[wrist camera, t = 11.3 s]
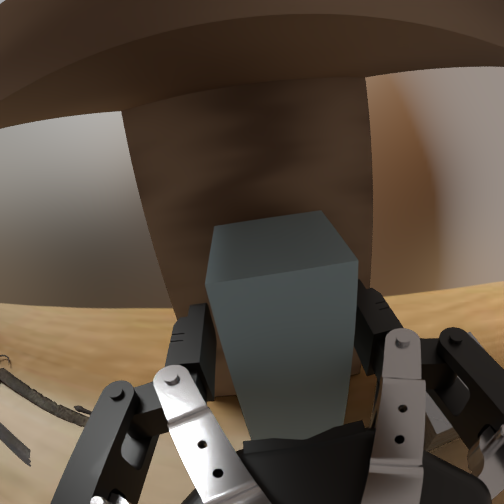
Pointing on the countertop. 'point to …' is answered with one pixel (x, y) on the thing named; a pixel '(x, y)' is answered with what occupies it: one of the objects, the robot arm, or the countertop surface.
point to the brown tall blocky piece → (235, 105)
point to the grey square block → (438, 423)
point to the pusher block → (285, 320)
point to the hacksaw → (42, 402)
